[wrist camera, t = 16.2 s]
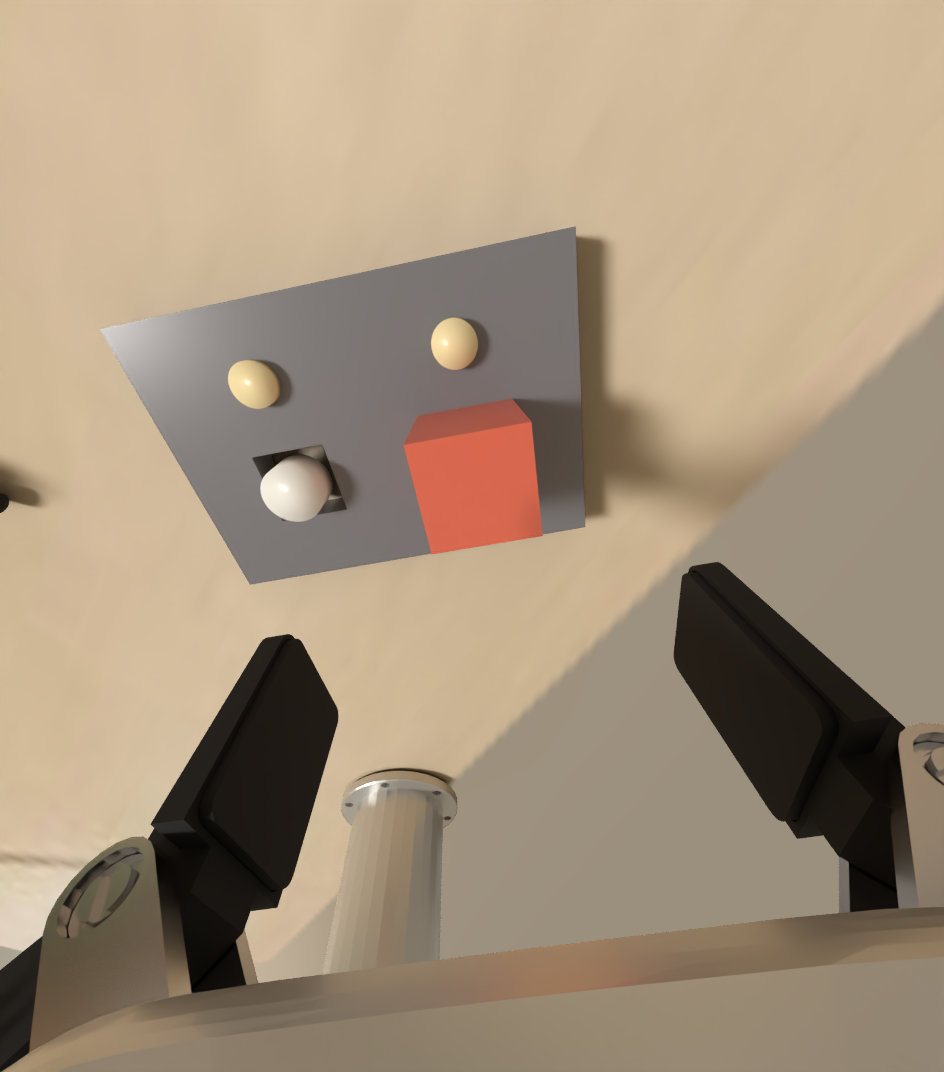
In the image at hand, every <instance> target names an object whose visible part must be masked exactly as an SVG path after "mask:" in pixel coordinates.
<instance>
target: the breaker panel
mask: <svg viewBox="0 0 944 1072" xmlns="http://www.w3.org/2000/svg"><path fill="white" fill-rule="evenodd" d="M100 331H101V333H102V334H103V336H104V338H105V340H106V341H107V343H108V345H109V346H110V348H111V350H112V351H113V353H114V355H115V356H116V358H117V360H118V362H119V363H120V365H121V367H122V368H123V370H124V372H125V373H126V375H127V377H128V378H129V380H130V382H131V384H132V385H133V387H134V389H135V390H136V392H137V394H138V395H139V397H140V399H141V401H142V402H143V404H144V406H145V407H146V409H147V411H148V412H149V414H150V416H151V417H152V419H153V421H154V423H155V424H156V426H157V428H158V429H159V431H160V433H161V434H162V436H163V438H164V440H165V441H166V443H167V445H168V446H169V448H170V450H171V451H172V453H173V455H174V456H175V458H176V460H177V462H178V463H179V465H180V467H181V468H182V470H183V472H184V473H185V475H186V477H187V478H188V480H189V482H190V484H191V485H192V487H193V489H194V490H195V492H196V494H197V495H198V497H199V499H200V501H201V502H202V504H203V506H204V507H205V509H206V511H207V512H208V514H209V516H210V517H211V519H212V521H213V523H214V524H215V526H216V528H217V529H218V531H219V533H220V534H221V536H222V538H223V540H224V541H225V543H226V545H227V546H228V548H229V550H230V551H231V553H232V555H233V556H234V558H235V560H236V562H237V563H238V565H239V567H240V568H241V570H242V572H243V573H244V575H245V577H246V578H247V580H248V582H249V584H256V583H262V582H268V581H274V580H280V579H285V578H291V577H297V576H303V575H309V574H314V573H320V572H326V571H332V570H338V569H344V568H349V567H355V566H361V565H367V564H373V563H379V562H384V561H390V560H396V559H402V558H408V557H414V556H419V555H425V554H431V550H430V546H429V542H428V538H427V534H426V530H425V527H424V523H423V519H422V515H421V511H420V507H419V503H418V499H417V496H416V492H415V488H414V484H413V480H412V476H411V472H410V468H409V464H408V461H407V457H406V453H405V449H404V443H405V441H406V439H407V437H408V435H409V433H410V431H411V429H412V427H413V425H414V423H415V421H416V419H417V417H418V416H420V415H425V414H430V413H436V412H441V411H447V410H452V409H458V408H463V407H468V406H474V405H479V404H485V403H490V402H495V401H501V400H506V399H513V400H514V401H515V403H516V404H517V405H518V406H519V407H520V409H521V410H522V411H523V412H524V413H525V415H526V416H527V417H528V418H529V419H530V421H531V422H532V433H533V443H534V453H535V464H536V474H537V484H538V494H539V505H540V515H541V525H542V534H548V533H553V532H559V531H565V530H571V529H577V528H583V527H585V503H584V472H583V441H582V410H581V379H580V349H579V318H578V287H577V256H576V227H571V228H566V229H562V230H557V231H553V232H548V233H543V234H539V235H534V236H529V237H525V238H520V239H515V240H511V241H506V242H501V243H497V244H492V245H488V246H483V247H478V248H474V249H469V250H464V251H460V252H455V253H450V254H446V255H441V256H437V257H432V258H427V259H423V260H418V261H413V262H409V263H404V264H399V265H395V266H390V267H385V268H381V269H376V270H372V271H367V272H362V273H358V274H353V275H348V276H344V277H339V278H334V279H330V280H325V281H320V282H316V283H311V284H307V285H302V286H297V287H293V288H288V289H283V290H279V291H274V292H269V293H265V294H260V295H256V296H251V297H246V298H242V299H237V300H232V301H228V302H223V303H218V304H214V305H209V306H204V307H200V308H195V309H191V310H186V311H181V312H177V313H172V314H167V315H163V316H158V317H153V318H149V319H144V320H139V321H135V322H130V323H126V324H121V325H116V326H112V327H107V328H102V329H100ZM321 444H322V445H323V447H324V450H325V453H326V455H327V458H328V461H329V463H330V466H331V468H332V471H333V474H334V476H335V479H336V481H337V484H338V487H339V489H340V492H341V495H342V497H343V498H339V499H334V500H328V501H326V502H325V504H324V505H323V507H322V508H321V510H320V511H319V512H318V514H317V515H316V516H314V517H313V518H311V519H309V520H307V521H302V522H294V521H289V520H285V519H283V518H281V517H279V516H277V515H276V514H274V513H273V512H272V511H271V510H270V509H269V508H268V507H267V506H266V504H265V503H264V501H263V499H262V496H261V491H260V486H261V482H262V479H263V477H264V476H265V475H266V474H267V473H268V472H269V471H270V470H271V469H273V468H274V467H275V466H276V464H275V462H274V460H273V458H272V456H271V454H273V453H279V452H284V451H289V450H294V449H300V448H305V447H310V446H315V445H321Z"/></svg>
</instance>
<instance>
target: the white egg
mask: <svg viewBox="0 0 944 1072" xmlns="http://www.w3.org/2000/svg"><path fill="white" fill-rule="evenodd" d="M332 488H333V482H332V478H331V475H330V473H329V472H328V470H327V469H326V467H325V466H324V465H323V464H322V463H320V462H319V461H318V460H316V459H314V458H312V457H310V456H306V455H291V456H288V457H286V458H285V459H283V460H282V461H281V462H280V463H278V464H277V465H276V466H275V467H274V468H273V469H271V470H270V471H269V472H268V473H267V474H266V475H265V476H264V477H263V479H262V482H261V486H260V491H261V496H262V499H263V501H264V503H265V504H266V506H267V507H268V508H269V509H270V510H271V511H272V512H273V513H274V514H276V515H277V516H279V517H281V518H283V519H285V520H289V521H294V522H302V521H307V520H309V519H311V518H313V517H314V516H316V515H317V514H318V512H319V511H320V510H321V508H322V507H323V505H324V504H325V502H326V501H327V499H328V498H329V496H330V495H331V493H332Z"/></svg>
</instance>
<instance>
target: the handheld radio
mask: <svg viewBox="0 0 944 1072" xmlns="http://www.w3.org/2000/svg"><path fill="white" fill-rule="evenodd" d="M8 505H9V498H8V497H7V495H5V494H2V493H0V513H1V512H3V511H4V510H5V509H6V508H7V507H8Z"/></svg>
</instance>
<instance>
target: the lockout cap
mask: <svg viewBox="0 0 944 1072" xmlns="http://www.w3.org/2000/svg"><path fill="white" fill-rule="evenodd" d="M404 449H405V453H406V457H407V461H408V464H409V468H410V472H411V476H412V480H413V484H414V488H415V492H416V496H417V499H418V503H419V507H420V511H421V515H422V519H423V523H424V527H425V530H426V534H427V538H428V542H429V546H430V550H431V554H436V553H442V552H448V551H454V550H460V549H466V548H472V547H478V546H484V545H490V544H496V543H502V542H508V541H514V540H520V539H526V538H532V537H539V536H542V525H541V515H540V505H539V494H538V484H537V474H536V464H535V453H534V443H533V433H532V422H531V421H530V419H529V418H528V417H527V416H526V415H525V413H524V412H523V411H522V410H521V409H520V407H519V406H518V405H517V404H516V403H515V401H514V400H513V399H506V400H501V401H495V402H490V403H485V404H479V405H474V406H468V407H463V408H458V409H452V410H447V411H441V412H436V413H430V414H425V415H420V416H418V417H417V419H416V421H415V423H414V425H413V427H412V429H411V431H410V433H409V435H408V437H407V439H406V441H405V443H404Z"/></svg>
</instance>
